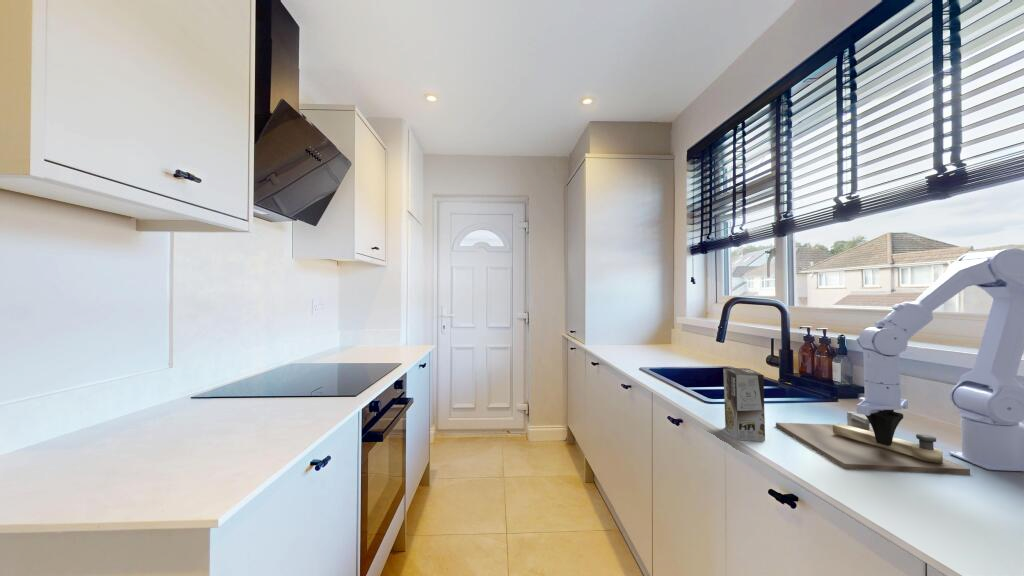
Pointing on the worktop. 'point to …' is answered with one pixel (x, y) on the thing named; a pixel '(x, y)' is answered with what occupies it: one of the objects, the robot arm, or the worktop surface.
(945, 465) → the base board
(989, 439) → the robot arm
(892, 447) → the link
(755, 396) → the coffee box
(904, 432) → the worktop surface
